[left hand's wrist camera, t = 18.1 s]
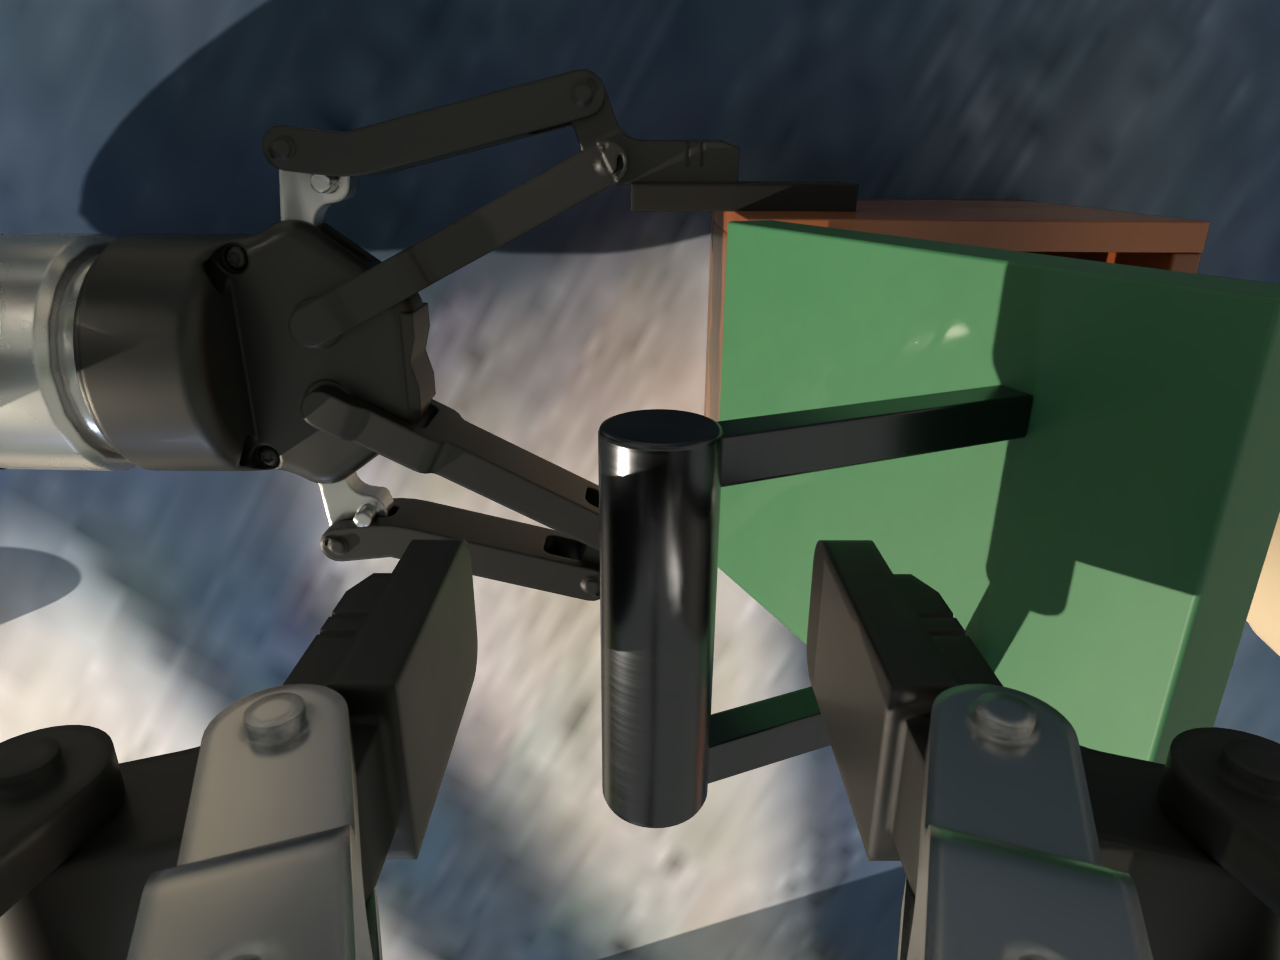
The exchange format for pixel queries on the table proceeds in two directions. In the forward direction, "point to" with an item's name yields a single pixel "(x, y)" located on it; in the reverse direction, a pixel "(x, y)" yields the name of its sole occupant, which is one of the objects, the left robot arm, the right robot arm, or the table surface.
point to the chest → (974, 241)
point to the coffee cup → (1268, 596)
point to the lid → (945, 489)
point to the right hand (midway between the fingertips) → (831, 358)
